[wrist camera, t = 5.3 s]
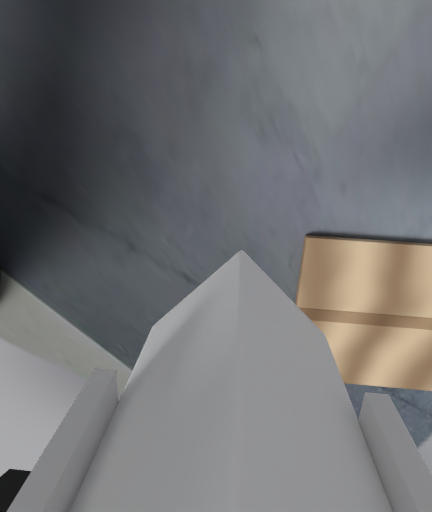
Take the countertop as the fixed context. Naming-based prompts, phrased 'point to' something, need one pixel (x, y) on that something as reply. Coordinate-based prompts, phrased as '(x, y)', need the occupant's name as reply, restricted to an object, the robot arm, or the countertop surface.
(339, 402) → the milk
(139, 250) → the countertop surface
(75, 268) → the countertop surface
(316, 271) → the flat cardboard box
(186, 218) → the countertop surface
